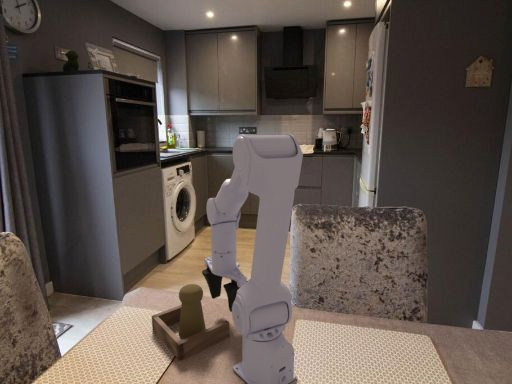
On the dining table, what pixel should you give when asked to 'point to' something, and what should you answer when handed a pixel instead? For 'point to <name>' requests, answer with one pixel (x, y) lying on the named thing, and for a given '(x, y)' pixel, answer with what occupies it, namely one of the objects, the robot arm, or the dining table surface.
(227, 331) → the open u-shaped frame
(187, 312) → the olive pawn shape
